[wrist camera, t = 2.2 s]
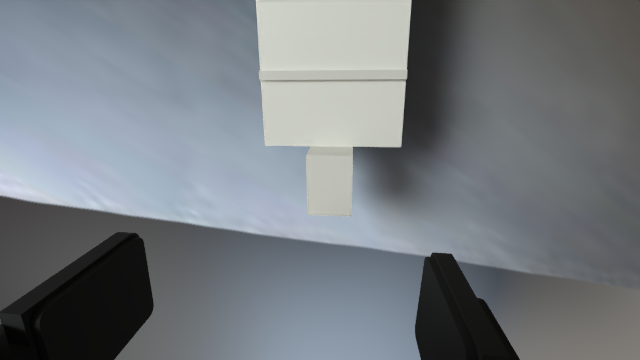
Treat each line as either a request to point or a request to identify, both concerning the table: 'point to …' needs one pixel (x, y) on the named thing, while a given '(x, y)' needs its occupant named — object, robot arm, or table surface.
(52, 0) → the table surface
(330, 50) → the lid
